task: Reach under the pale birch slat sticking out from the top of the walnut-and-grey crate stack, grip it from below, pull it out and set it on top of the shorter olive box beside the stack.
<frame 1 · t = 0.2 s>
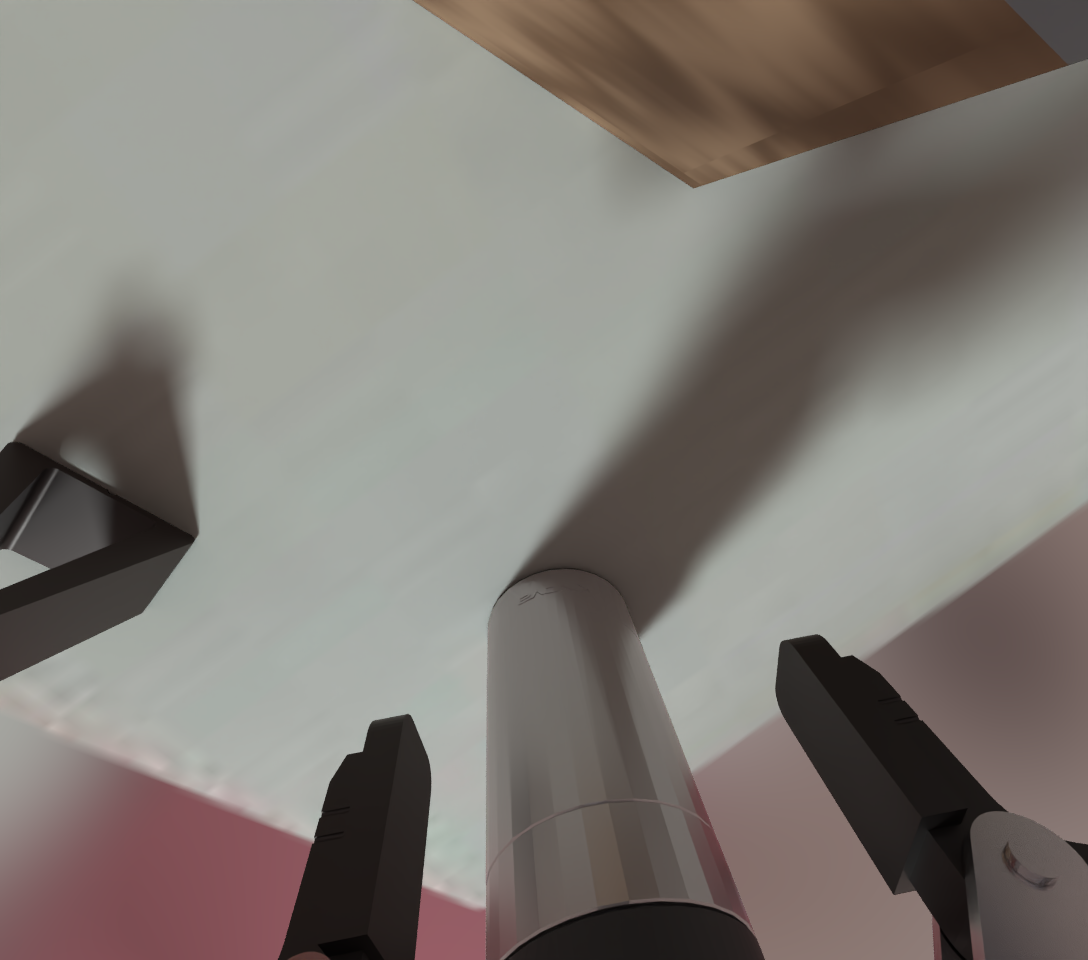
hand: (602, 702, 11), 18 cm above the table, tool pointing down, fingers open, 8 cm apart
phone stand: (89, 529, 26), on the table
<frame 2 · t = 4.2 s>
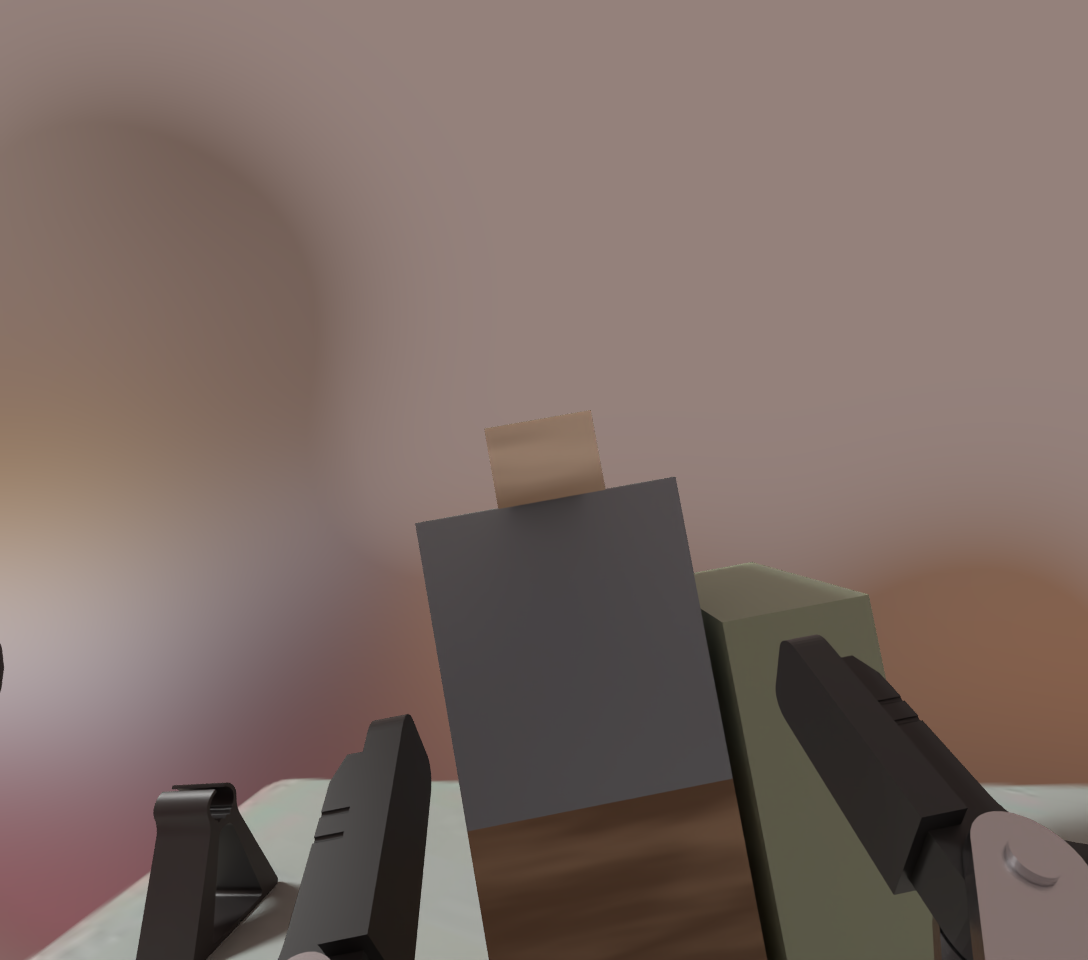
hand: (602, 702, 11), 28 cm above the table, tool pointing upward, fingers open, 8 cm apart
grey crate: (564, 618, 33), on the walnut crate, point 24 cm above the table
olive box: (811, 950, 32), on the table
birch slat: (545, 500, 28), point 32 cm above the table, touching grey crate
phone stand: (213, 924, 44), on the table
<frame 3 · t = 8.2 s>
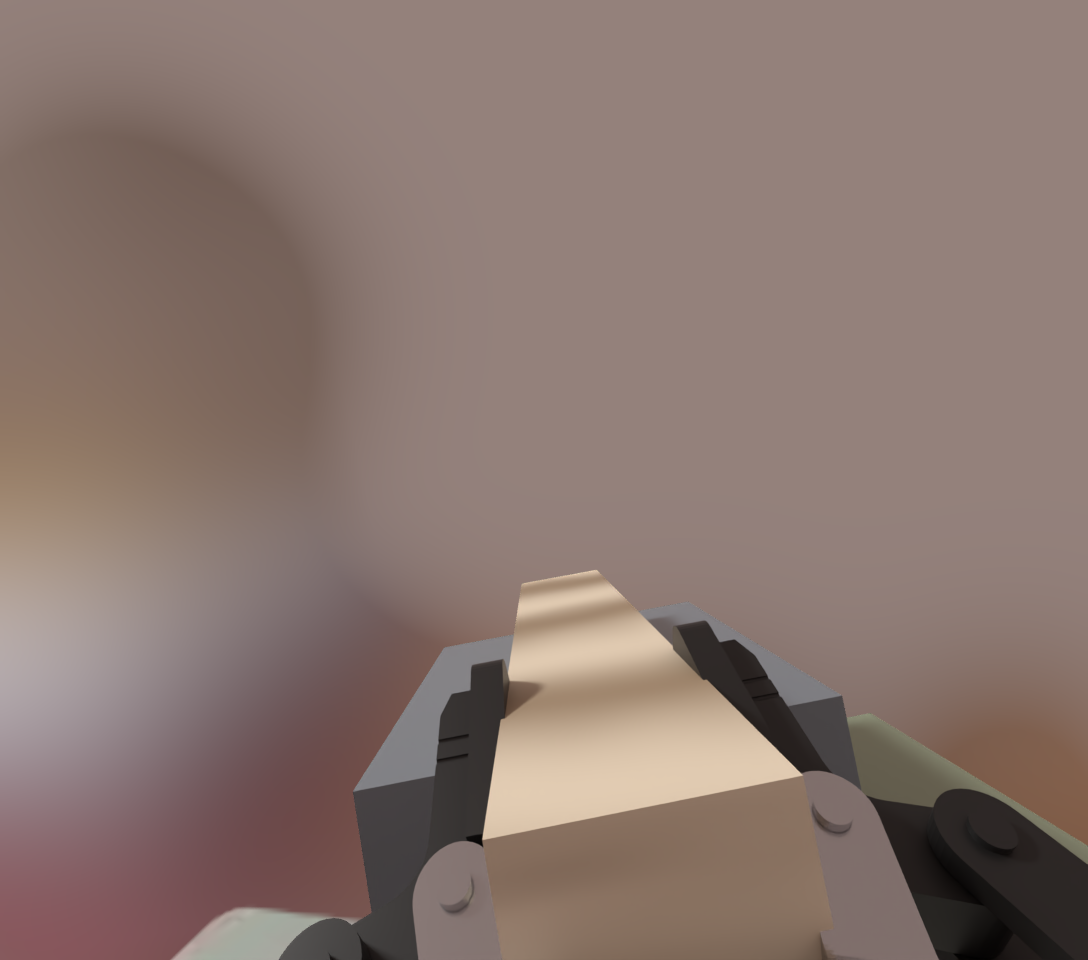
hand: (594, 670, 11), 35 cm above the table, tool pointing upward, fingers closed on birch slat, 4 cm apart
grey crate: (613, 857, 20), on the walnut crate, point 24 cm above the table
birch slat: (592, 713, 16), point 32 cm above the table, touching grey crate, gripper
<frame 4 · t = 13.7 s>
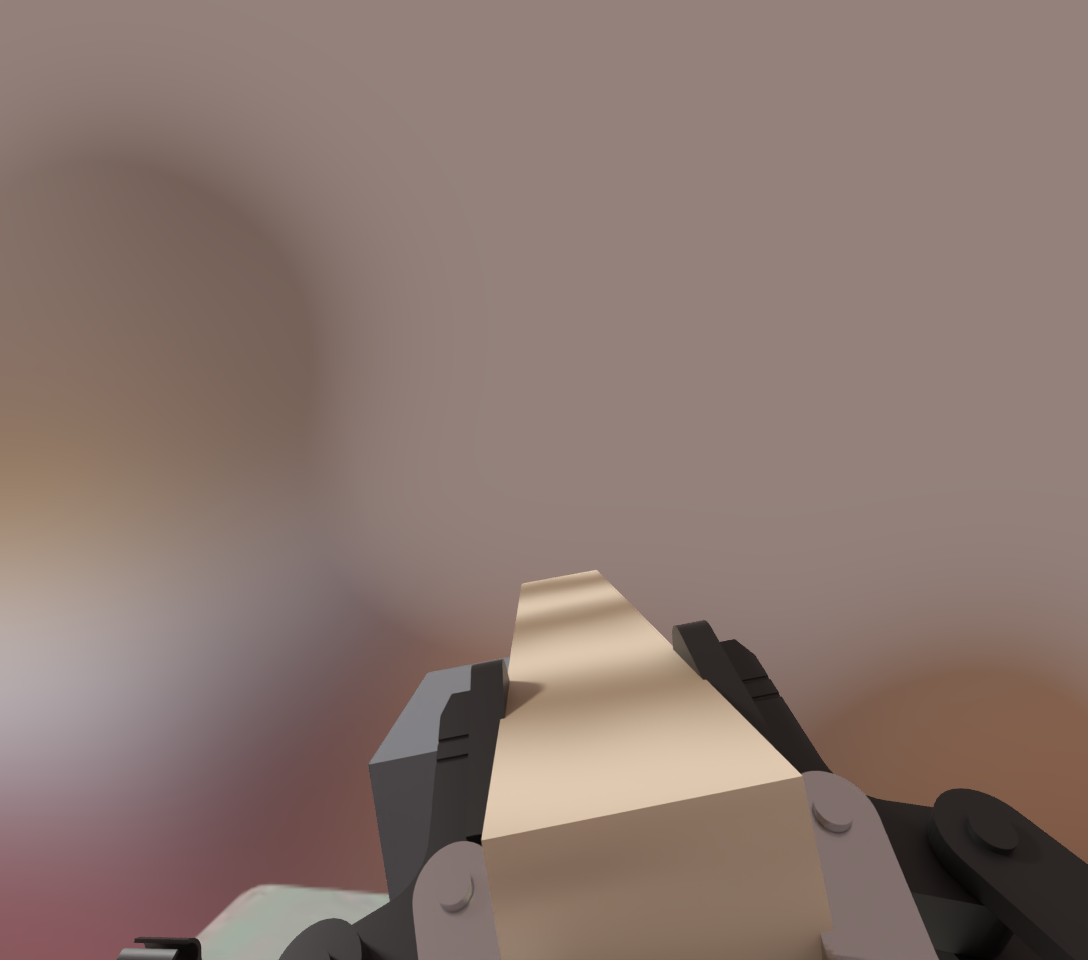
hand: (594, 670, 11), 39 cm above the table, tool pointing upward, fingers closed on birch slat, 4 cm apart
grey crate: (534, 813, 31), on the walnut crate, point 24 cm above the table
birch slat: (591, 713, 16), point 36 cm above the table, touching gripper
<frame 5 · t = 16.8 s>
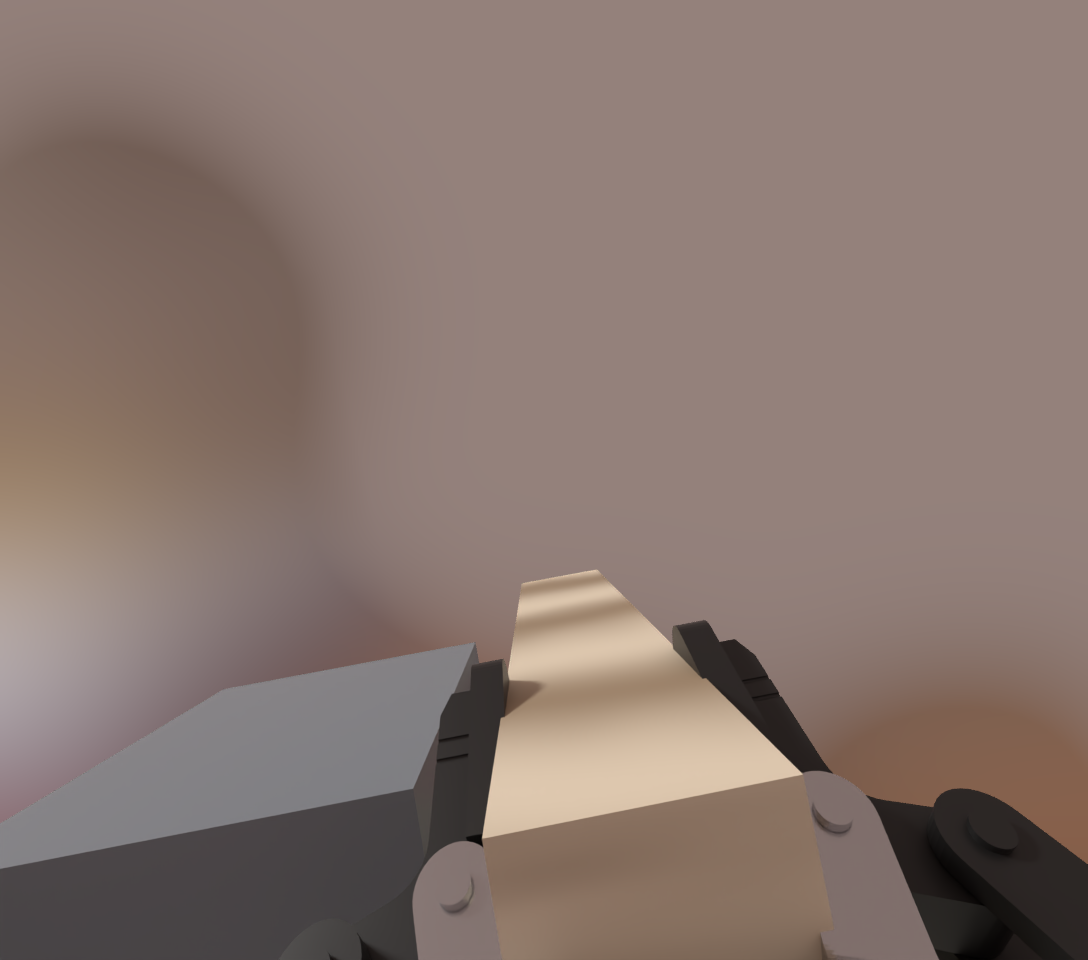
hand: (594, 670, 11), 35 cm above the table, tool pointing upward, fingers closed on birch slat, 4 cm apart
grey crate: (317, 921, 20), on the walnut crate, point 24 cm above the table
birch slat: (592, 712, 16), point 32 cm above the table, touching gripper
when the fingers open (28 cm above the table, at t = 19.3 s): birch slat drops 1 cm, resting on olive box.
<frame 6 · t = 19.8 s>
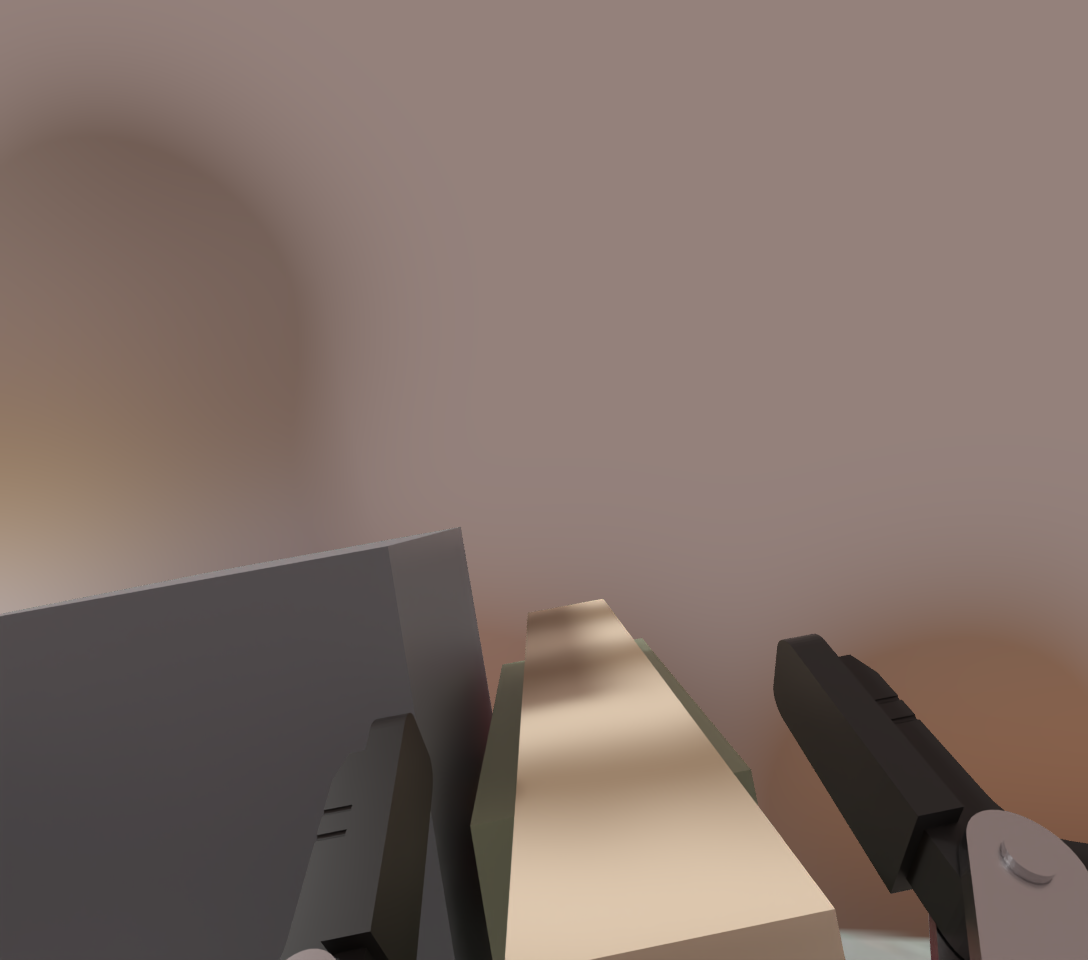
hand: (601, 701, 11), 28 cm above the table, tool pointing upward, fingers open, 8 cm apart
grey crate: (300, 754, 20), on the walnut crate, point 24 cm above the table
birch slat: (602, 762, 16), point 24 cm above the table, touching olive box
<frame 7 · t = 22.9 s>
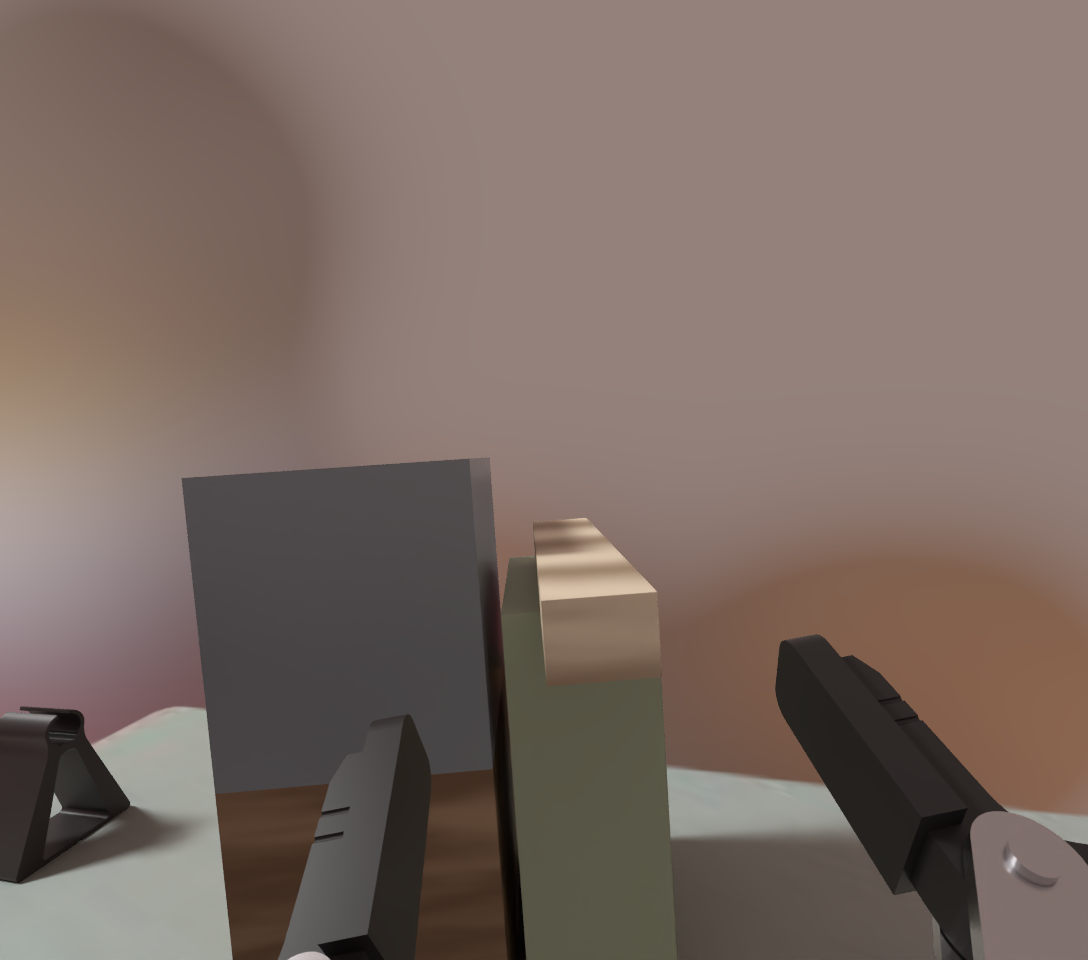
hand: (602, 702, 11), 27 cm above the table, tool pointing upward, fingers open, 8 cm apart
grey crate: (381, 589, 32), on the walnut crate, point 24 cm above the table
olive box: (590, 924, 33), on the table
walnut crate: (412, 943, 33), on the table
birch slat: (575, 598, 27), point 24 cm above the table, touching olive box
phone stand: (54, 840, 45), on the table
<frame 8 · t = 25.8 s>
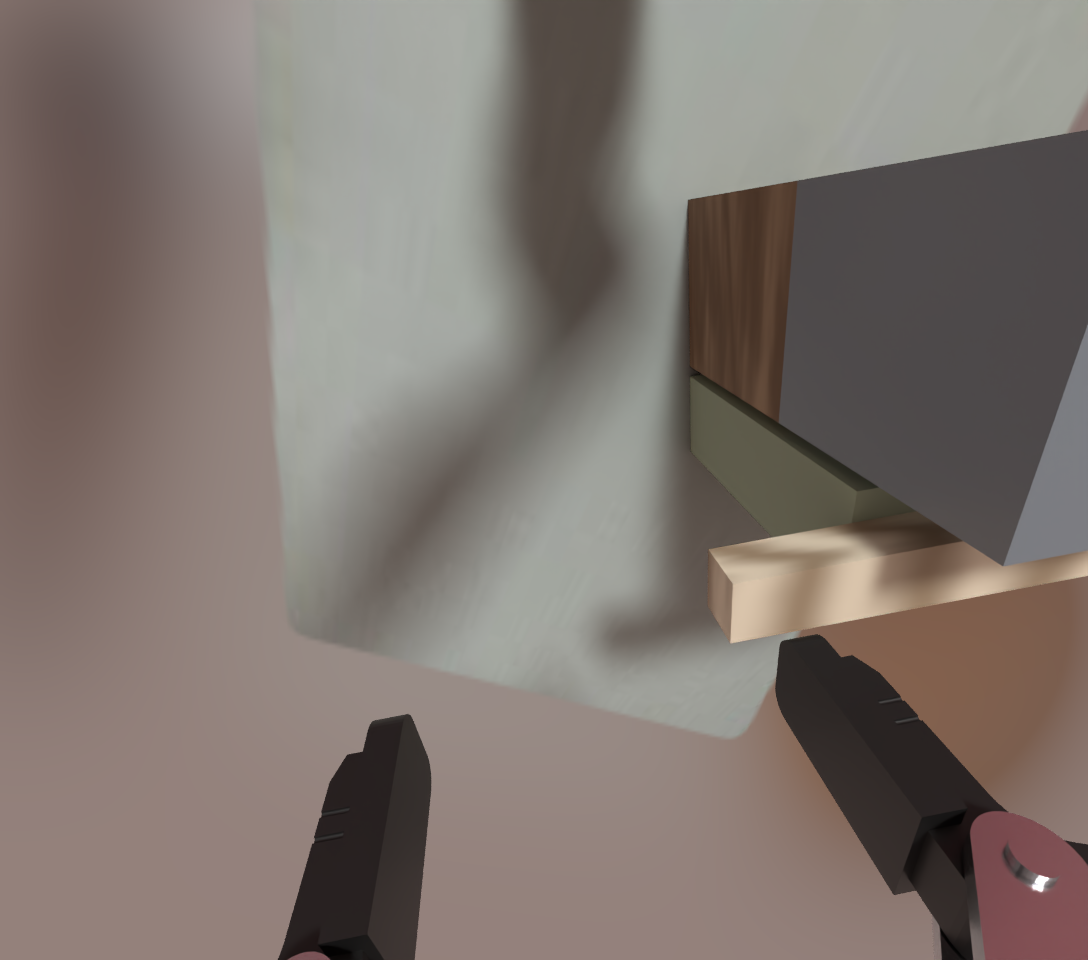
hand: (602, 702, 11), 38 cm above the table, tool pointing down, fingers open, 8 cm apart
grey crate: (1028, 314, 23), on the walnut crate, point 24 cm above the table
olive box: (758, 403, 50), on the table
walnut crate: (765, 276, 44), on the table
birch slat: (878, 546, 28), point 24 cm above the table, touching olive box
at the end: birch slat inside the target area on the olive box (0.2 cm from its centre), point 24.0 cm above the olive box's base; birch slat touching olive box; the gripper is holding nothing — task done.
